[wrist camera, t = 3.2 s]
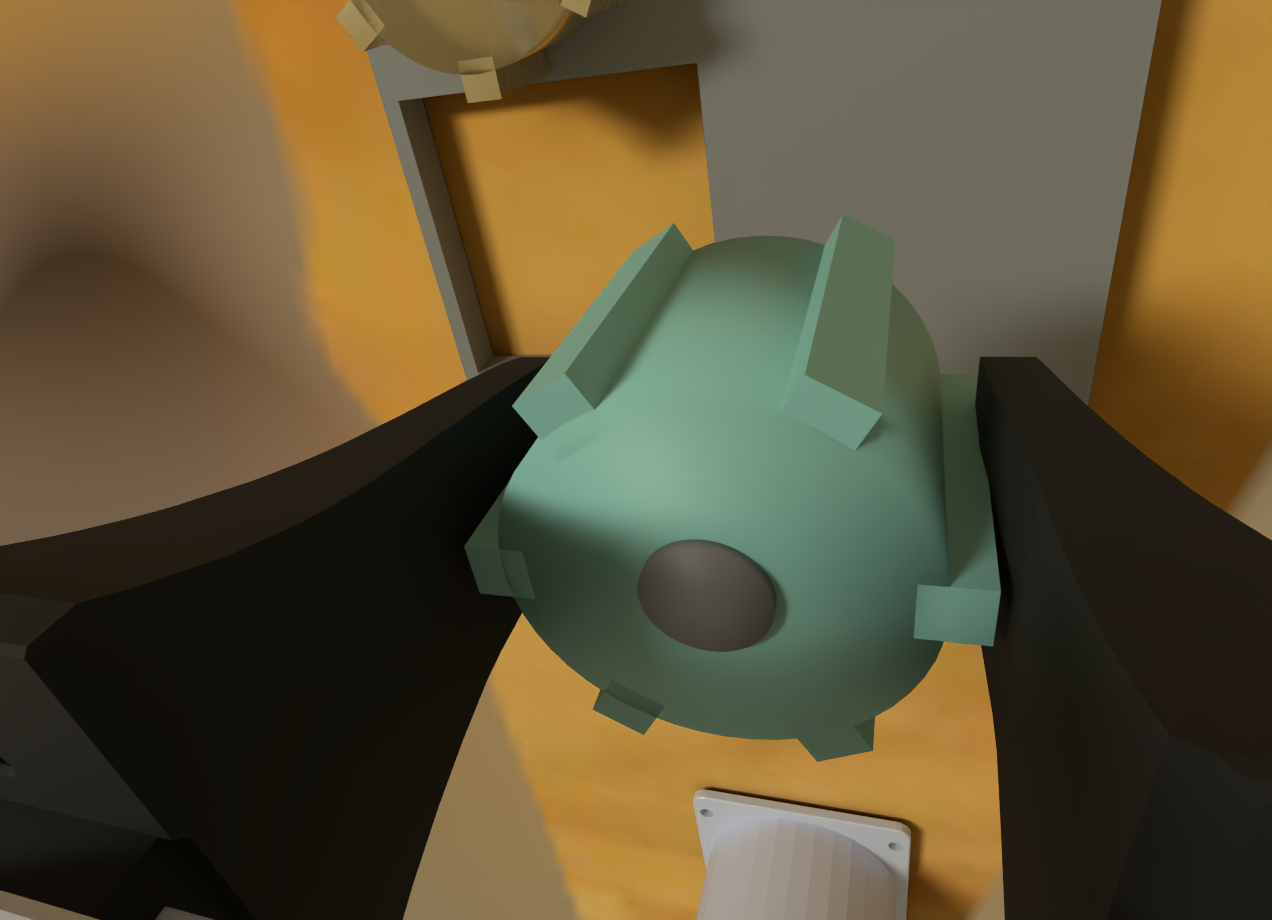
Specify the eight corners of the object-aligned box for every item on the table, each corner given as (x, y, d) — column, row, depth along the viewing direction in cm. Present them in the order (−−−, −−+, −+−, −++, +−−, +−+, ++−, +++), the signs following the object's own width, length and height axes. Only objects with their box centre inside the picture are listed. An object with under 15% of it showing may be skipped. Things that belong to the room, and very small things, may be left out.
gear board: (1047, 574, 21) (1069, 694, 18) (533, 538, 26) (480, 628, 23) (1249, -592, 10) (1392, -799, 7) (296, -285, 15) (132, -329, 12)
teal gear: (958, 546, 12) (972, 798, 9) (614, 522, 13) (517, 725, 10) (993, 205, 9) (1034, 386, 6) (554, 229, 11) (395, 379, 7)
